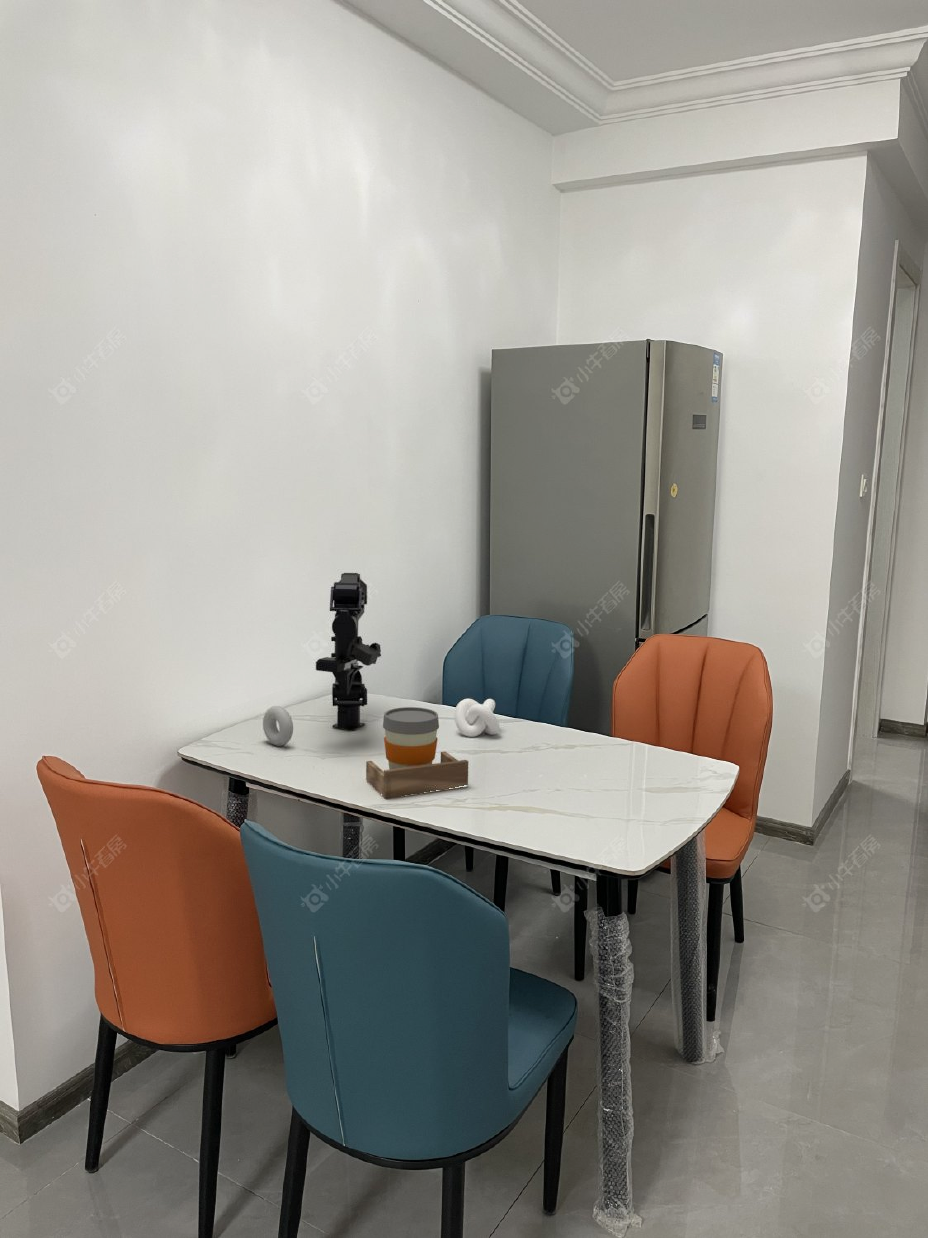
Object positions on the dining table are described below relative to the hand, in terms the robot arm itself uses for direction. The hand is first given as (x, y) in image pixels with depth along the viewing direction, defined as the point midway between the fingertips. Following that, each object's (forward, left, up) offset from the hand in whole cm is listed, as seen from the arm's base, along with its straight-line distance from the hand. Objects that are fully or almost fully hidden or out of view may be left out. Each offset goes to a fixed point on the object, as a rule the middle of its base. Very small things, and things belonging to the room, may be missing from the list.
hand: (345, 694), depth 235 cm
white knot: (-23, +25, -13) cm, 37 cm away
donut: (+10, -14, -13) cm, 21 cm away
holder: (+18, +29, -13) cm, 37 cm away
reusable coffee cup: (+15, +26, -13) cm, 33 cm away
